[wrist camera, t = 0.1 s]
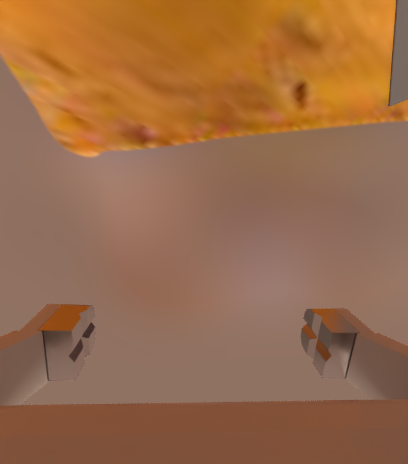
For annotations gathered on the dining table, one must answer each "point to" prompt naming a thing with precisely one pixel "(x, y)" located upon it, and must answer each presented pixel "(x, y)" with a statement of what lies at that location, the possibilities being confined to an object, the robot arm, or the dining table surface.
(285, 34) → the dining table surface
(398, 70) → the mat
